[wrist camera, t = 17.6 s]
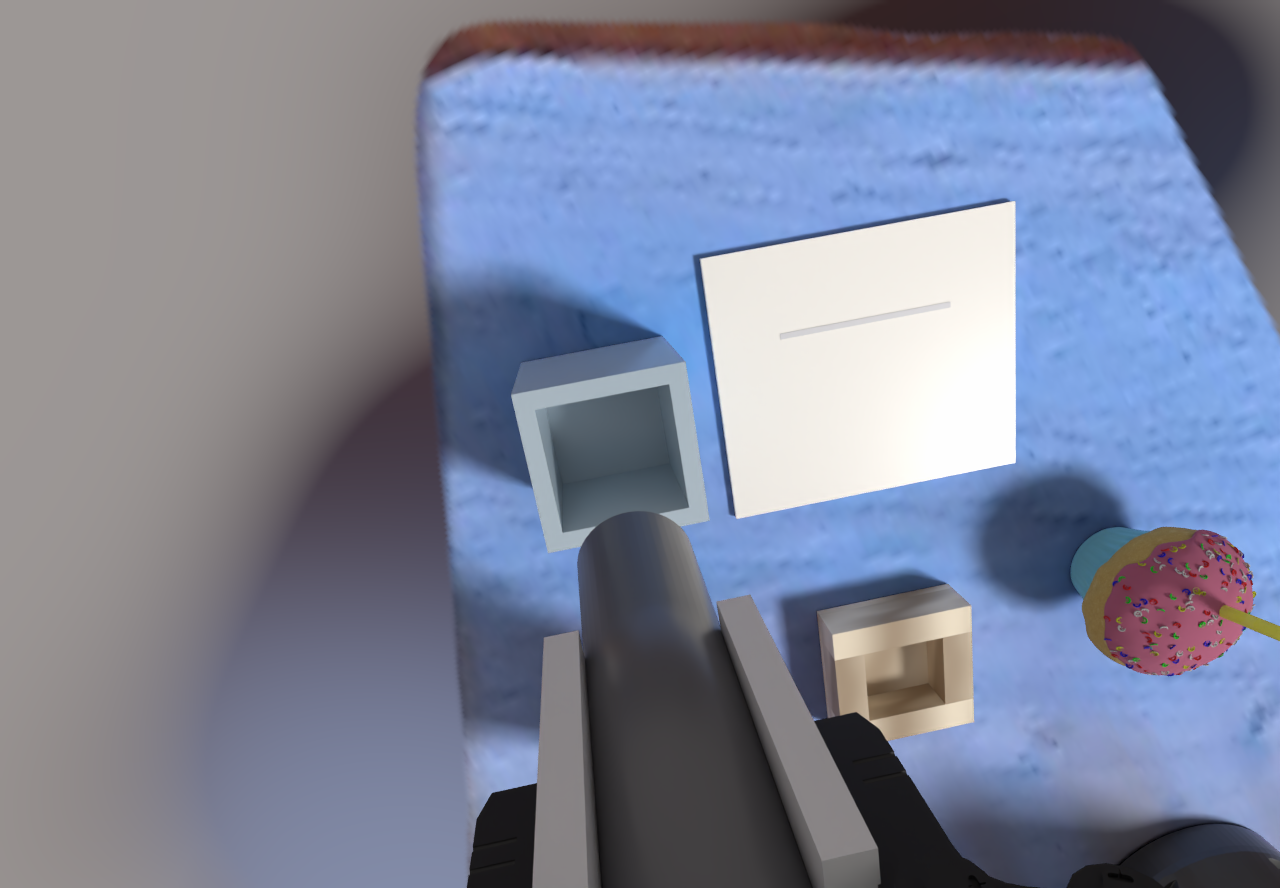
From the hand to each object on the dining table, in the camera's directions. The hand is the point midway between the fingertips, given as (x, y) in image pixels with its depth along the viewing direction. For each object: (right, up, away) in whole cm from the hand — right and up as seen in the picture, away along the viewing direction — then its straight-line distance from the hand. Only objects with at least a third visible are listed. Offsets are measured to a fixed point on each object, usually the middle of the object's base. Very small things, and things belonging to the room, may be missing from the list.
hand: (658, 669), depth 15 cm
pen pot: (-2, +6, +21) cm, 22 cm away
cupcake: (+28, -2, +27) cm, 39 cm away
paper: (+12, +9, +21) cm, 26 cm away
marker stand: (+15, -8, +27) cm, 32 cm away
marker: (-1, +2, +5) cm, 5 cm away
